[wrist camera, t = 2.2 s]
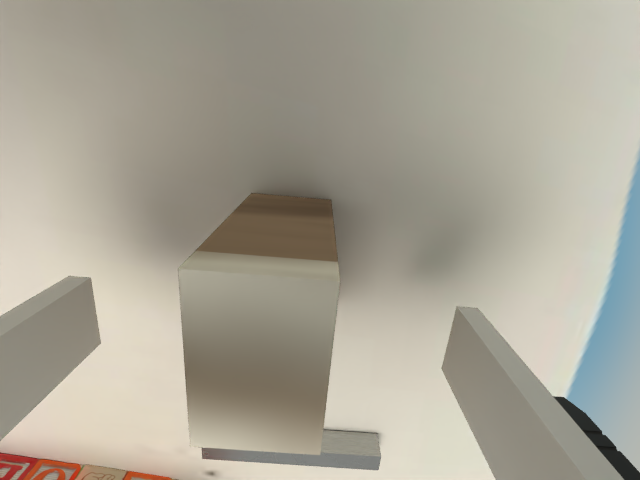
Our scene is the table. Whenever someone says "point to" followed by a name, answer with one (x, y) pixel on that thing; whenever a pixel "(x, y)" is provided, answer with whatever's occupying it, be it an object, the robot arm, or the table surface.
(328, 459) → the grey bar
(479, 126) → the table surface
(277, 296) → the walnut block
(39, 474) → the stack of blocks
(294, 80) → the table surface
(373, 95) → the table surface
